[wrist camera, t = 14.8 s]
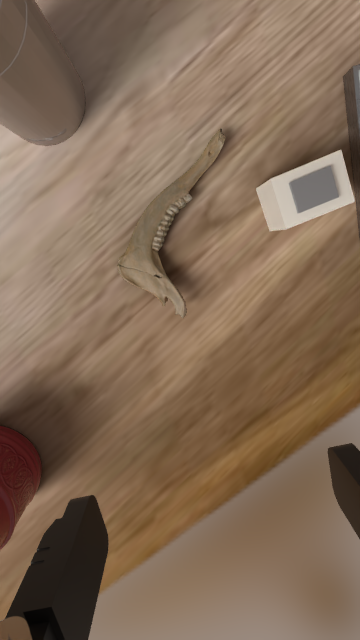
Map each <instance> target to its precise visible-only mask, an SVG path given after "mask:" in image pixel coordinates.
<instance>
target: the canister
mask: <svg viewBox="0 0 360 640" xmlns="http://www.w3.org/2000/svg"><path fill="white" fill-rule="evenodd" d="M41 475H42V464H41V460H40V457H39V454H38V452H37V450H36V449H35V447H34V446H33V445H32V443H31V442H30V441H29V440H28V439H27V438H25V437H24V436H23V435H21V434H20V433H18V432H16V431H14V430H12V429H10V428H7V427H3V426H0V550H1V549H2V548H3V547H4V546H5V545H6V544H7V542H8V541H9V539H10V538H11V536H12V534H13V531H14V528H15V526H16V524H17V522H18V521H19V519H20V517H21V515H22V514H23V512H24V510H25V508H26V507H27V505H28V504H29V503H30V502H31V501H32V499H33V497H34V495H35V494H36V492H37V489H38V487H39V483H40V479H41Z"/></svg>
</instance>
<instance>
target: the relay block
mask: <svg viewBox="0 0 360 640" xmlns="http://www.w3.org/2000/svg"><path fill="white" fill-rule="evenodd" d="M256 191H257V194H258V197H259V200H260V203H261V206H262V209H263V212H264V215H265V218H266V221H267V224H268V227H269V231H277V230H285V229H288V228H291V227H293V226H296V225H298V224H301V223H303V222H306V221H308V220H311V219H313V218H316V217H318V216H321V215H323V214H326V213H328V212H331V211H333V210H335V209H338V208H340V207H343V206H345V205H348V204H350V203H353V202H355V200H354V196H353V192H352V189H351V185H350V181H349V177H348V173H347V170H346V166H345V162H344V158H343V154H342V151H341V150H339V151H336V152H334V153H331V154H329V155H327V156H324V157H322V158H319V159H317V160H315V161H312V162H310V163H307V164H305V165H303V166H300V167H298V168H295V169H293V170H291V171H288V172H286V173H283V174H281V175H279V176H276V177H274V178H271V179H270V180H268V181H267V182H265V183H264V184H262V185H261V186H259V187H258V188H256Z"/></svg>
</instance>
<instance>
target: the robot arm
mask: <svg viewBox="0 0 360 640" xmlns="http://www.w3.org/2000/svg"><path fill="white" fill-rule="evenodd" d="M85 103H86V102H85V92H84V88H83V84H82V81H81V79H80V77H79V75H78V73H77V71H76V70H75V68H74V66H73V64H72V63H71V61H70V59H69V58H68V56H67V54H66V52H65V51H64V49H63V47H62V46H61V44H60V42H59V40H58V39H57V37H56V35H55V34H54V32H53V30H52V29H51V27H50V25H49V24H48V22H47V20H46V19H45V17H44V15H43V13H42V12H41V10H40V8H39V7H38V5H37V3H36V2H35V0H0V124H2V125H3V126H5V127H6V128H8V129H9V130H11V131H12V132H13V133H15V134H16V135H18V136H19V137H21V138H23V139H24V140H26V141H28V142H30V143H33V144H36V145H42V146H50V145H56V144H59V143H61V142H64V141H65V140H67V139H68V138H70V137H71V136H72V135H73V134H74V133H75V132H76V130H77V129H78V127H79V125H80V124H81V122H82V119H83V116H84V112H85ZM328 457H329V465H330V472H331V478H332V485H333V490H334V494H335V496H336V499H337V502H338V504H339V506H340V508H341V509H342V511H343V513H344V514H345V516H346V518H347V519H348V521H349V522H350V524H351V526H352V527H353V529H354V531H355V532H356V534H357V535H358V537H359V539H360V451H359V450H358V449H357V448H356V447H355V446H354V445H353V444H352V443H350V444H345V445H340V446H335V447H330V448H328ZM107 553H108V534H107V529H106V527H105V524H104V521H103V518H102V515H101V512H100V509H99V506H98V503H97V500H96V498H95V496H94V495H90V496H85V497H80V498H75V499H71V500H70V501H69V503H68V505H67V508H66V510H65V513H64V515H63V517H62V518H60V519H56V520H55V521H54V522H53V524H52V525H51V526H50V527H49V528H48V530H47V531H46V532H45V533H44V535H43V537H42V539H41V541H40V544H39V546H38V548H37V552H36V553H35V554H34V557H33V559H32V561H31V566H29V568H28V570H27V572H26V574H25V576H24V578H23V581H22V583H21V585H20V587H19V589H18V592H17V594H16V596H15V598H14V600H13V602H12V605H11V607H10V609H9V611H8V613H7V616H6V618H5V619H4V620H2V621H0V640H88V637H89V633H90V629H91V624H92V620H93V615H94V611H95V607H96V602H97V598H98V593H99V589H100V584H101V580H102V576H103V571H104V567H105V562H106V558H107Z"/></svg>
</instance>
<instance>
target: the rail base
mask: <svg viewBox="0 0 360 640" xmlns="http://www.w3.org/2000/svg"><path fill="white" fill-rule="evenodd" d="M359 70H360V65H356V66H353V67H352V68H351V69H350V70H349V71H348V72H347V73H346V74H345V75H344V76H343V80H344V90H345V100H346V110H347V120H348V130H349V139H350V149H351V159H352V169H353V179H354V189H355V198H356V208H357V218H358V228H359V238H360V82H359Z"/></svg>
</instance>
